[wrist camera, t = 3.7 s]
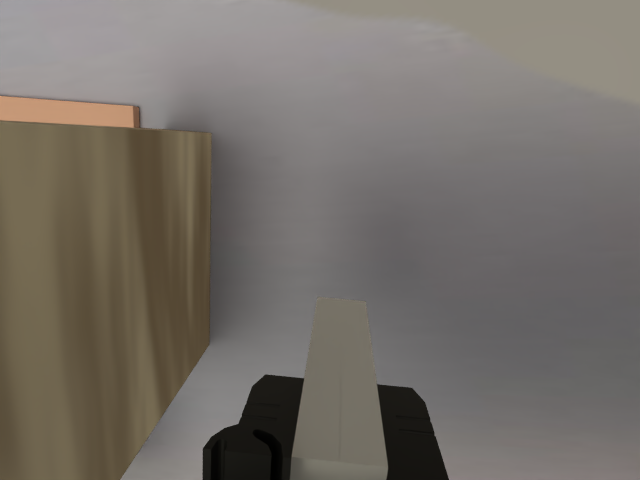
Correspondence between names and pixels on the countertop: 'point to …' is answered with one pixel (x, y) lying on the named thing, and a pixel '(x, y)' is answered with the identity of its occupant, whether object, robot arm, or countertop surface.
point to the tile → (97, 291)
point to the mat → (67, 112)
